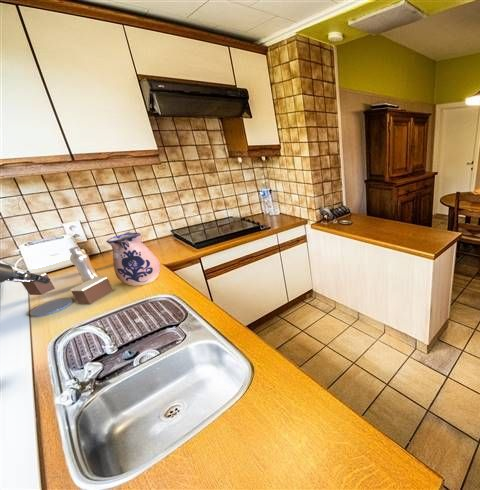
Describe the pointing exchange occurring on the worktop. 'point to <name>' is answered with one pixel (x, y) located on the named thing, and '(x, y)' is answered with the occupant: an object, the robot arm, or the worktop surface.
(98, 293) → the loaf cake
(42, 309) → the plate
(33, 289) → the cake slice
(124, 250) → the ceramic pitcher
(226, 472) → the worktop surface
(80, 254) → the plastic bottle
